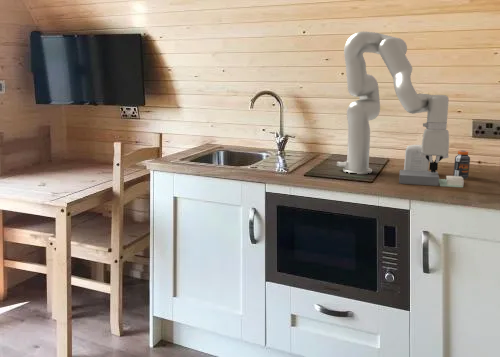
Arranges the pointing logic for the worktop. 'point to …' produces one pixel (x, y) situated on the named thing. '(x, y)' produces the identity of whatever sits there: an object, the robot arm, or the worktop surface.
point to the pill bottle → (462, 164)
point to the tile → (454, 180)
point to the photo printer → (415, 159)
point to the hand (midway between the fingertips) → (433, 171)
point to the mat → (443, 183)
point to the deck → (418, 177)
